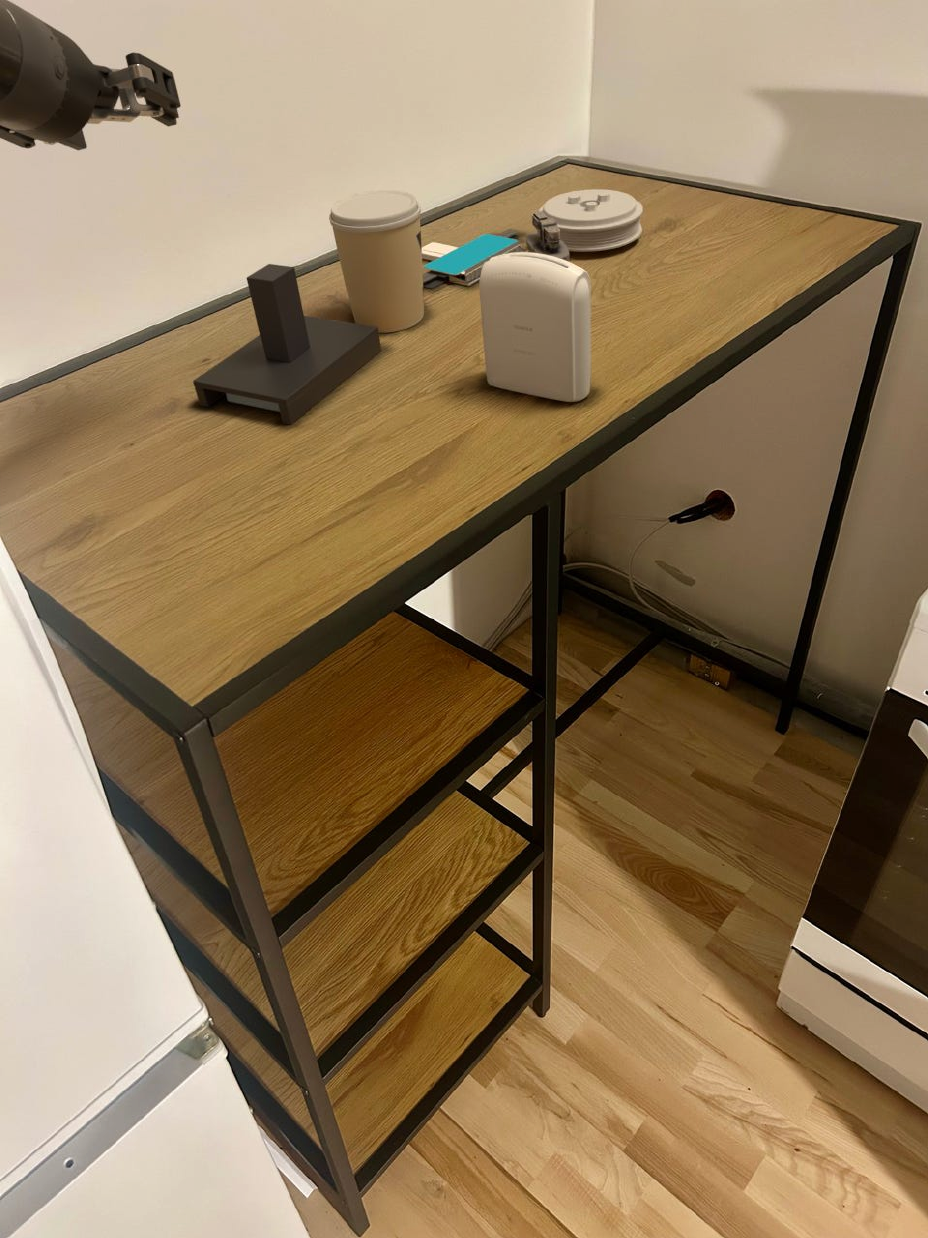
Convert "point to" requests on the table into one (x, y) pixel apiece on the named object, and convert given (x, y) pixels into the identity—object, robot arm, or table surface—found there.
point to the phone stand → (465, 258)
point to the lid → (595, 219)
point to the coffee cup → (381, 257)
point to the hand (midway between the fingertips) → (124, 124)
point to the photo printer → (537, 325)
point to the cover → (288, 351)
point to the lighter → (546, 237)
